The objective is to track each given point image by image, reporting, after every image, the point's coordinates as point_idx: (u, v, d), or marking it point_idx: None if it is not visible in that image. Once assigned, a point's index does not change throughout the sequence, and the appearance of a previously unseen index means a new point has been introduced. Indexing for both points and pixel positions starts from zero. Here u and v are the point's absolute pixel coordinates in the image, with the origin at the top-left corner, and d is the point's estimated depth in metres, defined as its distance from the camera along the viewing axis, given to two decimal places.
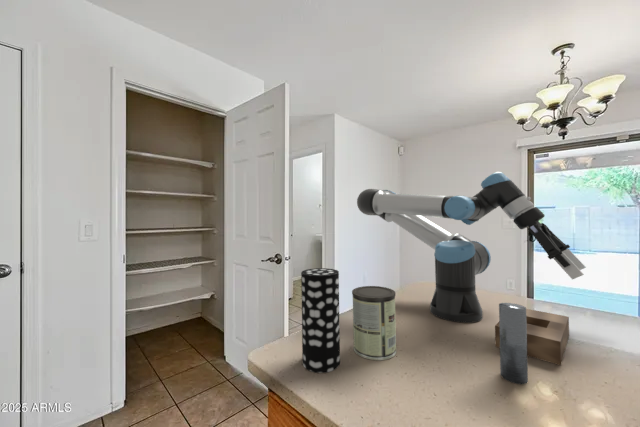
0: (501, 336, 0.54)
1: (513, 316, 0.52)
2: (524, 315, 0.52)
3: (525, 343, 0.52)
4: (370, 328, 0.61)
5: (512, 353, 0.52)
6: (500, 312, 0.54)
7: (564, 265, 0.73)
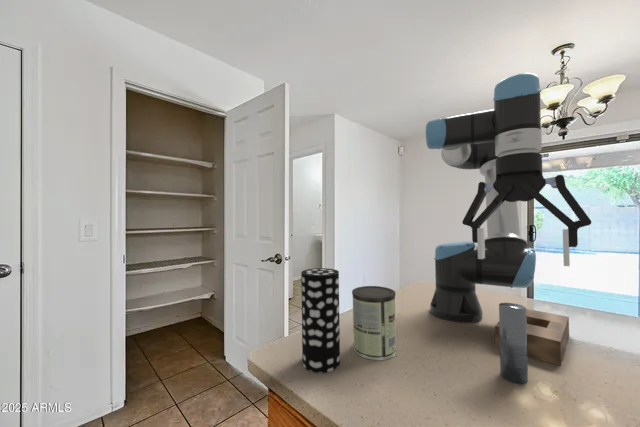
0: (501, 336, 0.54)
1: (513, 316, 0.52)
2: (524, 315, 0.52)
3: (525, 343, 0.52)
4: (370, 328, 0.61)
5: (512, 353, 0.52)
6: (500, 312, 0.54)
7: None
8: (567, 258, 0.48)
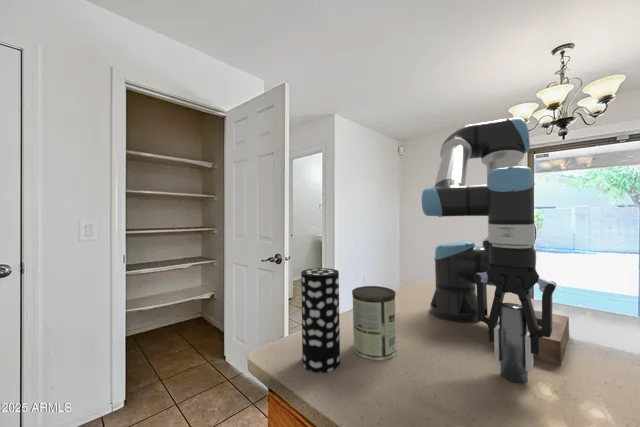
0: (501, 336, 0.54)
1: (513, 316, 0.52)
2: None
3: None
4: (370, 328, 0.61)
5: (512, 353, 0.52)
6: (500, 312, 0.54)
7: None
8: (529, 364, 0.51)
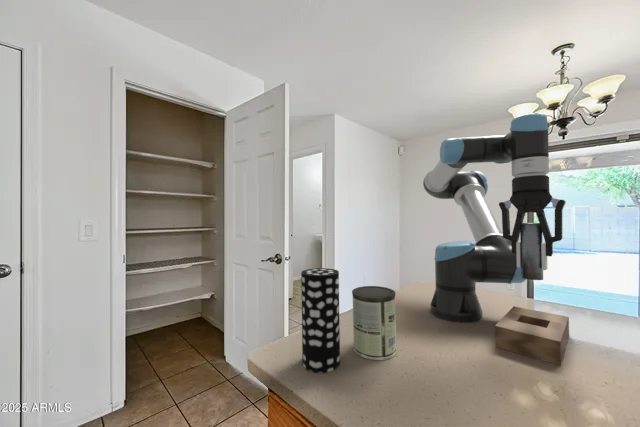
0: (522, 246, 0.69)
1: (532, 228, 0.67)
2: (540, 227, 0.67)
3: None
4: (370, 328, 0.61)
5: (531, 257, 0.67)
6: (521, 228, 0.69)
7: None
8: (544, 264, 0.66)
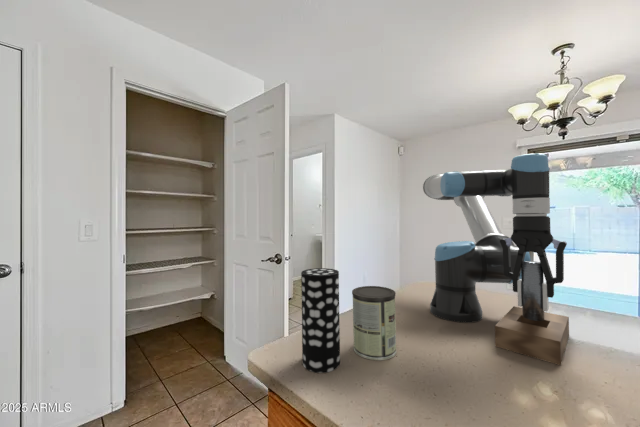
0: (523, 286, 0.69)
1: (533, 269, 0.67)
2: (541, 268, 0.67)
3: (542, 289, 0.67)
4: (370, 328, 0.61)
5: (532, 297, 0.67)
6: (522, 267, 0.69)
7: None
8: (545, 305, 0.66)
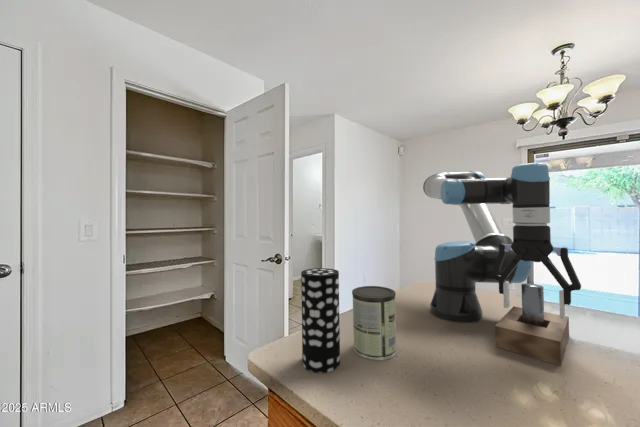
0: (523, 309, 0.69)
1: (533, 292, 0.67)
2: (542, 292, 0.67)
3: (543, 313, 0.67)
4: (370, 328, 0.61)
5: (532, 321, 0.67)
6: (522, 290, 0.69)
7: None
8: (562, 313, 0.64)
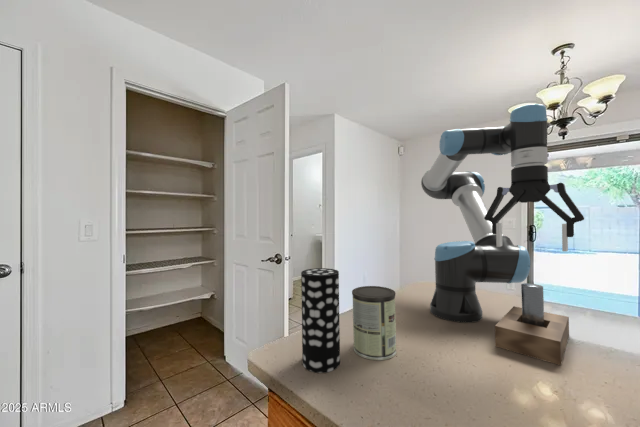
0: (523, 309, 0.69)
1: (533, 292, 0.67)
2: (542, 292, 0.67)
3: (542, 313, 0.67)
4: (370, 328, 0.61)
5: (532, 321, 0.67)
6: (522, 290, 0.69)
7: None
8: (565, 245, 0.64)
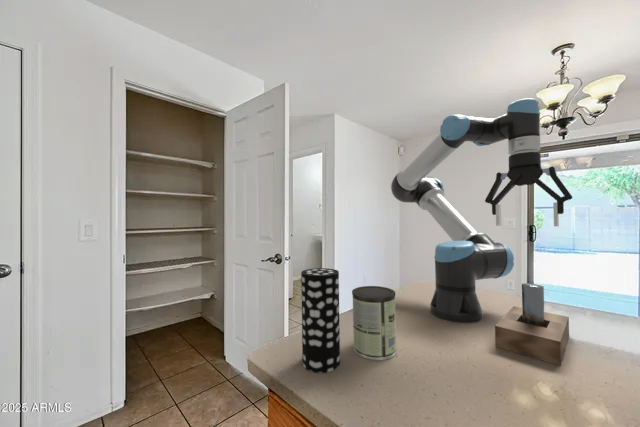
0: (523, 309, 0.69)
1: (534, 292, 0.67)
2: (542, 292, 0.67)
3: (543, 313, 0.67)
4: (370, 328, 0.61)
5: (532, 321, 0.67)
6: (522, 290, 0.69)
7: None
8: (556, 221, 0.73)
